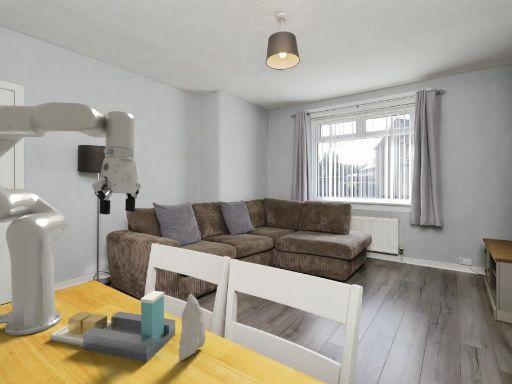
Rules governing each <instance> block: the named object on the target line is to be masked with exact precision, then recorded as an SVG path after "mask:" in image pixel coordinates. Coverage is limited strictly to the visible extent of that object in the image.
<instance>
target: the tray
mask: <svg viewBox="0 0 512 384" xmlns="http://www.w3.org/2000/svg"><path fill="white" fill-rule="evenodd" d="M110 324H111V320H108V319H107V326H108V325H110ZM49 341H53V342H58V343H63V344H67V345H73V346H77V347H82V348H83V334H82V335H77V334H71V333H69V327H68V324H67V325H65V326H64V327H62V328H60V329H58V330H56V331H54V332H52V333H51V334H50V335H49Z"/></svg>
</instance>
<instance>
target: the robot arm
mask: <svg viewBox="0 0 512 384" xmlns="http://www.w3.org/2000/svg"><path fill="white" fill-rule="evenodd" d="M48 132H77V133H78V132H79V133H82V134H84V135H87V136H89V137H92V138H105V148H104V149H103V153H104V154H105V155H104V157H105V158H103V161H102V165H101V166H102V167H101V169H100V170H101V171H100V172H101V173H100V179H99V180H97V181H95V182H94V183H92V184H91V186H92V189H93V191H94V194H95V196H96V197H97V200H99V211H98V212H99V215H110V214H111V199H110V198H111V196H112V195H113V194H125V196H126V197H127V198H125V206H124V207H125V208H124V209H125V211H126V212H135V211H136V200H137V197H138V195H139V193H140V189H141V187H142V186H141V184H140V183H139V182H138V171H137V170H138V169H137V165H136V161H135V160H134V152H135V151H134V150H135V117H134V116H133V115H132V114H131V113H129V112H125V111H117V110H111V111H108V113H103V112H101V111H98V110H97V109H95V108H94V107H92V106H90V105H87V104H85V103H80V102H79V103H78V102H62V101H61V102H58V101H57V102H55V101H54V102H44V103H41V104H37V105H9V104H7V105H6V104H5V105H4V104H3V105H2V104H1V105H0V159H1V158H2V157H3V156H5V154H6V153H8V152H9V151H10V150H11V149H13V148H14V147H15V146H16V145H17V144H18V143H20V142H21V140H23V138H42V137H45V136H46V135H47V133H48ZM9 222H10V224H9V225H8V226H7V227H6V231H5V239H6V241H5V242H6V244H7V247H8V252H9V256H10V257H9V259H10V260H9V261H10V274H11V278H10V281H11V311H8V312H7V313H0V325H1V324H6V325H5V326H4V333H5V334H7V335H9V336H25V335H31V334H36V333H38V332H42V331H44V330H46V329H50V328H51V327H53V326H54V325H56V324H58V323H59V322H60V321H61V319H62V312H61V311H58V310H56V307H55V305H56V303H55V301H56V300H55V299H56V298H55V295H56V294H55V293H56V292H55V259H54V253H53V251H52V248H51V244H50V243H53V242H55V241H56V240H59V239H61V238H63V236H65V235H66V233H67V232H68V230H69V229H68V227H69V224H68V220H67V219H66V217H65V216H64V214H62V213H61V212H60V211H59V210H58V209H56V208H55V207H53V206H52V205H51V204H49V203H48V202H47V201H46V200H45V199H43V198H42V197H40V196H39V195H38V194H36V193H34V192H33V191H30V190H28V189H24V188H7V187H4V186H2V185H0V224H3V223H9Z"/></svg>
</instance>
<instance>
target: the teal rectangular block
mask: <svg viewBox="0 0 512 384" xmlns="http://www.w3.org/2000/svg"><path fill="white" fill-rule="evenodd" d="M139 302H140V309H141V310H140V315H141V336H146V337H152V338H155V341H156V340H157V339H158V338H159V337H161V336H162V335H163V334H164V318H165V292H164V291H158V290H152V291H151V292H149V293H148V294H146V295H144V296H143V297H141V298H140V301H139Z"/></svg>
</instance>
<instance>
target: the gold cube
mask: <svg viewBox="0 0 512 384" xmlns="http://www.w3.org/2000/svg"><path fill="white" fill-rule="evenodd" d="M107 320H108V315H104V314H99V313H93V315H92V316H90V317H88V318H87V319H85V320H83V333H85V332H86V331H88V330H90V329H91V328H93V327H94V328H99V329H103V328H105V327H107Z"/></svg>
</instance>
